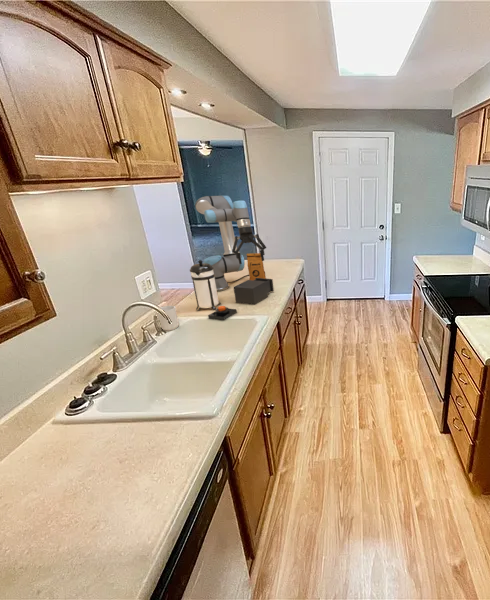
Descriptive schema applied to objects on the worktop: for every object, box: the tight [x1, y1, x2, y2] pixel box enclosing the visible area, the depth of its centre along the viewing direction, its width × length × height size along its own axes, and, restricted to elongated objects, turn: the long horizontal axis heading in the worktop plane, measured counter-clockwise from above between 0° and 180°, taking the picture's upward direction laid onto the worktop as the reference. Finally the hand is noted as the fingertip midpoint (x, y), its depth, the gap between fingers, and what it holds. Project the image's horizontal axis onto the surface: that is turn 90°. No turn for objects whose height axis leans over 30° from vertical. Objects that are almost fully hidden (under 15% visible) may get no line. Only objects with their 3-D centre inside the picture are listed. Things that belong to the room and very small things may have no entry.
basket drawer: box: [255, 278, 274, 294], centre depth 225 cm, size 19×13×9 cm, turn 165°
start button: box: [217, 305, 227, 311], centre depth 190 cm, size 4×4×2 cm
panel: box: [207, 306, 238, 321], centre depth 190 cm, size 12×10×4 cm
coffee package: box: [246, 252, 267, 280], centre depth 252 cm, size 10×12×22 cm
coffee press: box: [189, 259, 221, 312], centre depth 199 cm, size 17×16×30 cm
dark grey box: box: [233, 279, 269, 306], centre depth 214 cm, size 16×14×11 cm
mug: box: [155, 305, 180, 332], centre depth 175 cm, size 12×9×11 cm
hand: (252, 262), depth 200 cm, fingers open, 13 cm apart
